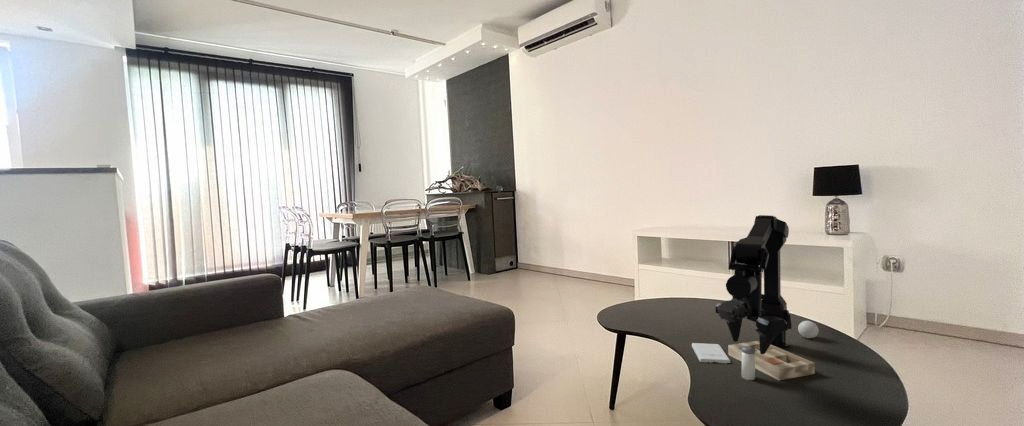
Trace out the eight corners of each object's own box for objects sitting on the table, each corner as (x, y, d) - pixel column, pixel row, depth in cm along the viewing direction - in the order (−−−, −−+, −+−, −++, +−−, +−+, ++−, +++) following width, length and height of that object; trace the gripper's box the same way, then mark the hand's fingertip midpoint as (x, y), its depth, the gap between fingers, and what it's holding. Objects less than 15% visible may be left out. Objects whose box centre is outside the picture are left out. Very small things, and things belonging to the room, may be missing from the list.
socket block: (760, 349, 136) (760, 339, 136) (814, 373, 119) (814, 362, 118) (728, 354, 133) (728, 344, 133) (778, 380, 115) (779, 368, 115)
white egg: (821, 341, 141) (821, 324, 141) (800, 339, 143) (800, 323, 143) (813, 333, 148) (814, 317, 148) (794, 332, 150) (794, 316, 150)
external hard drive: (719, 349, 139) (730, 365, 127) (691, 347, 140) (700, 363, 128) (719, 344, 139) (730, 359, 126) (691, 342, 140) (700, 358, 128)
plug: (748, 374, 120) (748, 345, 119) (757, 378, 117) (758, 349, 116) (738, 375, 119) (739, 346, 118) (747, 380, 116) (748, 351, 115)
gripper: (699, 285, 123) (699, 339, 124) (752, 302, 105) (751, 365, 106) (732, 281, 126) (732, 334, 127) (789, 297, 108) (788, 359, 109)
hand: (748, 347), depth 117 cm, fingers open, 9 cm apart
